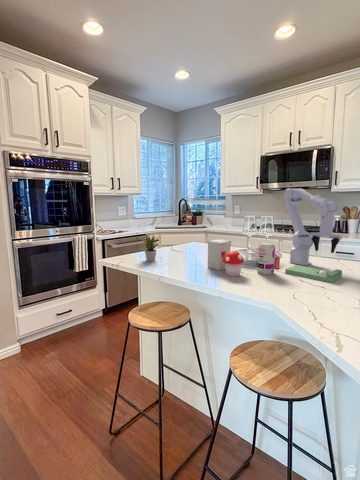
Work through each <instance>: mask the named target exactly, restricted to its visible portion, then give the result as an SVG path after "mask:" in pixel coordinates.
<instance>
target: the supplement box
mask: <svg viewBox="0 0 360 480" xmlns="http://www.w3.org/2000/svg"><path fill="white" fill-rule="evenodd" d="M231 242H232V241H231V240H227V239H226V240H225V239H220V238H219V239H218V238H217V239H212V240H208V241H207V268H208V269H213V270H217V271H222V270H226V268H225V267H226V263H223V262H222V260H223V256H224V255H225V254H226V253H227V252H229V251H231V244H232V243H231Z"/></svg>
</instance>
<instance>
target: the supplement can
mask: <svg viewBox="0 0 360 480" xmlns="http://www.w3.org/2000/svg"><path fill="white" fill-rule="evenodd" d="M275 255H276V246H275V243H272V242H260V243H259V244H258V246H257V263H256V267H257V268H256V272H257V273H258V274H259V275H264V276H270V275H273V274H274V273H275V261H276V259H275V258H276V256H275Z"/></svg>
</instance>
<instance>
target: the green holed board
mask: <svg viewBox="0 0 360 480" xmlns="http://www.w3.org/2000/svg"><path fill="white" fill-rule="evenodd" d="M321 270H322V269H319V268H314V267H309V266H306V265H299V264H294V265H293V266H290V267H287V268H285V270H284V271H285V272H284V273H285V274H287V275H288V274H289V275H293V276H298V277H303V278H307V279H312V280H317V281H319V282H320V281H322V282H325V283H326V282H327V283H332V284H333V283H334V282H336V281H338V280H340V279H342V277H343V270H342V269H337V268H336V269H334V270H333V271H331V270H327V269H326V270H325V269H323V270H324V271H326V272H327V275H322V274H319V272H320V271H321Z"/></svg>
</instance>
